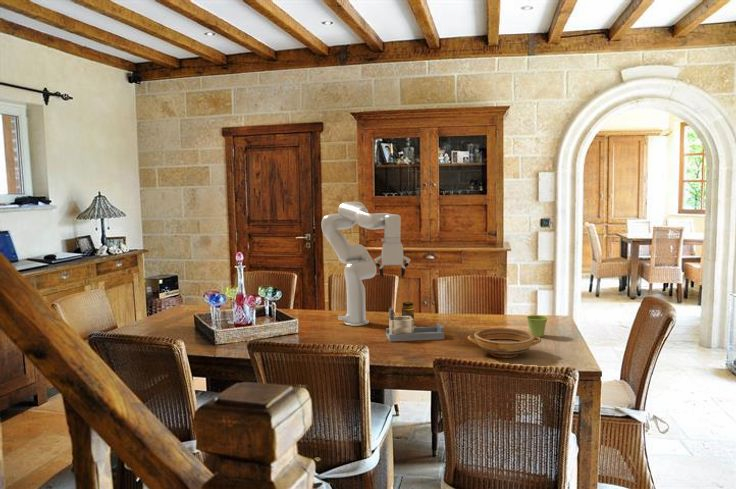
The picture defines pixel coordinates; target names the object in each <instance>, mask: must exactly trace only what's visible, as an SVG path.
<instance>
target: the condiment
mask: <svg viewBox="0 0 736 489" xmlns="http://www.w3.org/2000/svg"><path fill="white" fill-rule="evenodd" d="M401 316H411V317H412V319H413V320H414V321H415V309H414V303H413V302H412V301H404V302H402V308H401ZM414 327H418V326H417V325H414Z"/></svg>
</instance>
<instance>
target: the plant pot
mask: <svg viewBox="0 0 736 489" xmlns="http://www.w3.org/2000/svg"><path fill="white" fill-rule="evenodd" d="M525 318H526V320H527V323H528V329H529V331H528V332H529V333H531V334H533V335H534V336H535V337H540V338H543V337H544V336H545V331H546V330H545V329H546V323H547V321H548V320H549V318H548V317H547V316H544V315H541V314H540V315H539V314H538V315H537V314H535V315H527V316H526V317H525Z"/></svg>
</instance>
